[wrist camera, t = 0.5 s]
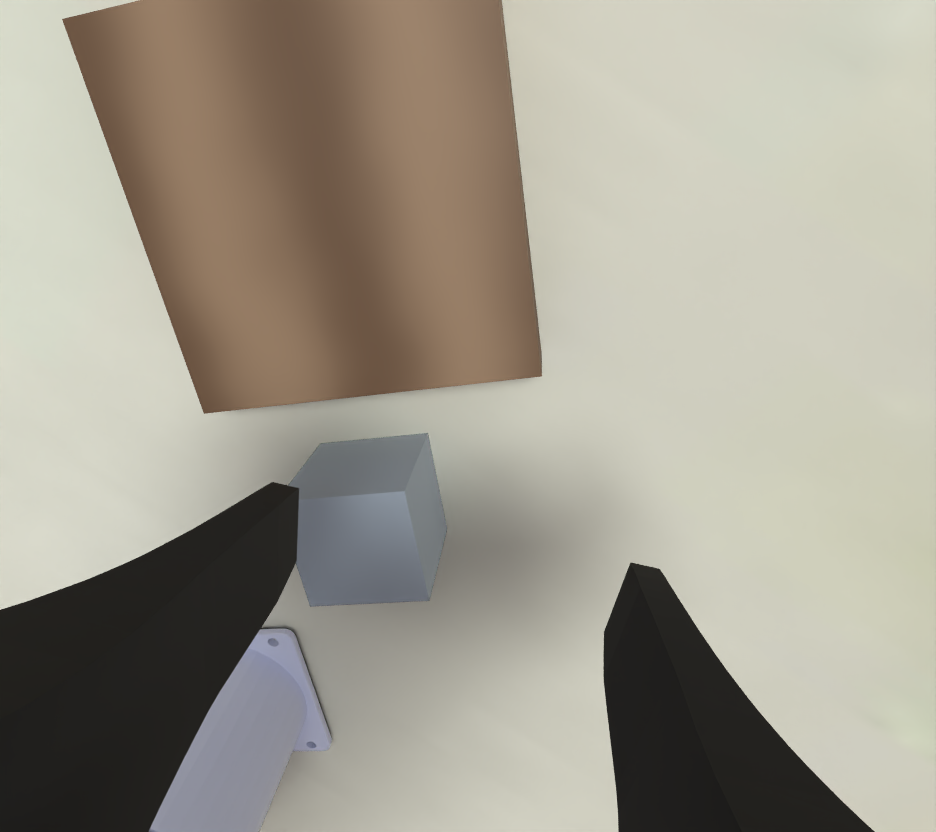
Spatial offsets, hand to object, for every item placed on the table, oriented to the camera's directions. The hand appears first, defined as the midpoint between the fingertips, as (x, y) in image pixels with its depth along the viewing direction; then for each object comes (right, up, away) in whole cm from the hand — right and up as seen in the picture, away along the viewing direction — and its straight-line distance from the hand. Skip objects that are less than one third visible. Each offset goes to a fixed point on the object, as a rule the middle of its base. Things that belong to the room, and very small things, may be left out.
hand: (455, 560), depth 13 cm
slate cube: (-3, 0, +12) cm, 12 cm away
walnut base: (-4, +10, +8) cm, 14 cm away
